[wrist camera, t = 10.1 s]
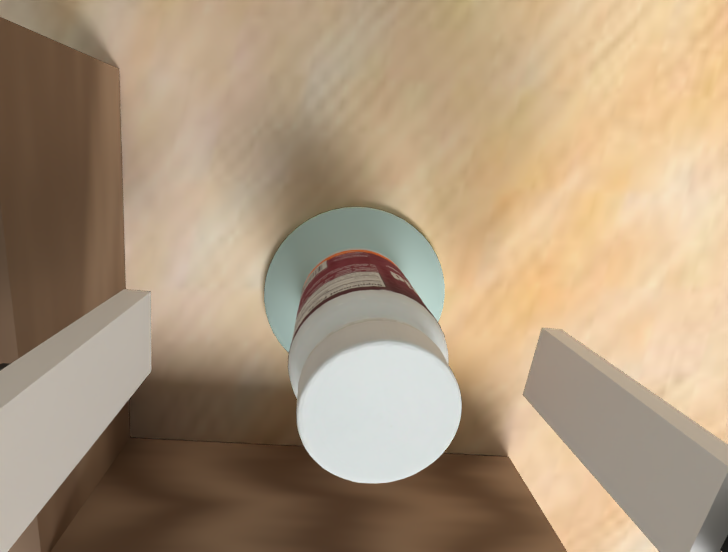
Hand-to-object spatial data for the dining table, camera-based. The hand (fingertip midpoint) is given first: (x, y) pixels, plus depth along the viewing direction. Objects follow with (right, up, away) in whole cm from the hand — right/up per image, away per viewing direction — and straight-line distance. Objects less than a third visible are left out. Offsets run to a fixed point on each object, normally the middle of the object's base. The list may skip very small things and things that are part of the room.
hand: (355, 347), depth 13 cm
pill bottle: (0, +2, +4) cm, 5 cm away
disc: (0, +1, +4) cm, 5 cm away
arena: (-1, +1, +5) cm, 5 cm away
